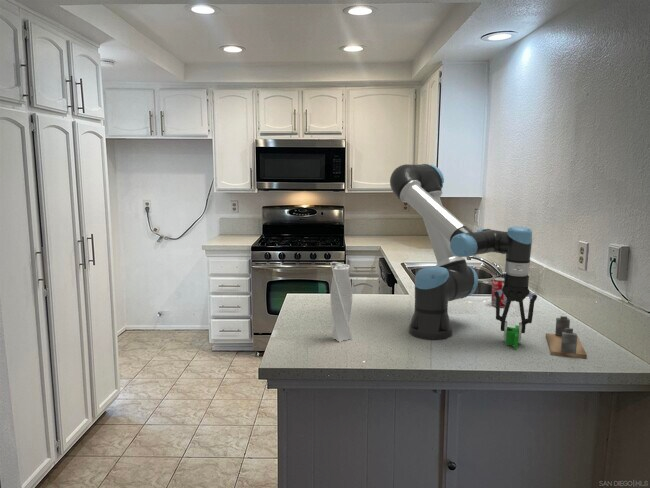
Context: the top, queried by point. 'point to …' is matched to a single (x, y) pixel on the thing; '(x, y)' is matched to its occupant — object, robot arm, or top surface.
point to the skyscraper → (341, 301)
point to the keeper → (565, 340)
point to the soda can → (498, 285)
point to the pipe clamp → (512, 336)
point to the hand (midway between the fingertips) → (511, 340)
